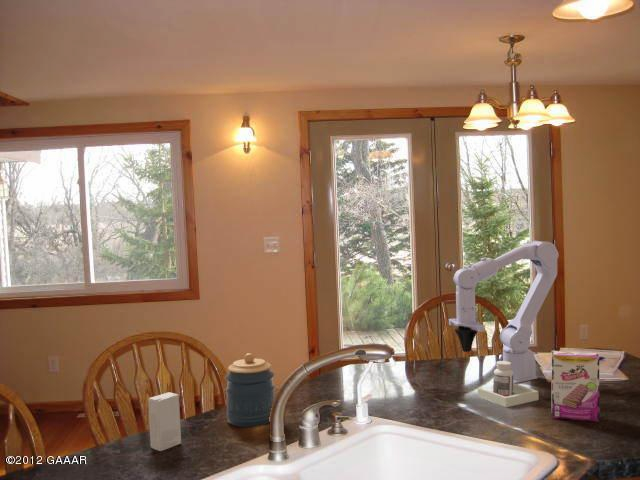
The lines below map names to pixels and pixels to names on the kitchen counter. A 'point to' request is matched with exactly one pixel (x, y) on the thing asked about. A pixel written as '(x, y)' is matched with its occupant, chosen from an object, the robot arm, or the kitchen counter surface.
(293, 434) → the kitchen counter surface
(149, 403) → the skincare box
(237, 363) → the canister
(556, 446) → the kitchen counter surface
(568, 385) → the candy bar box
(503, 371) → the pill bottle
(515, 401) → the u-shaped bracket
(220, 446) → the kitchen counter surface
